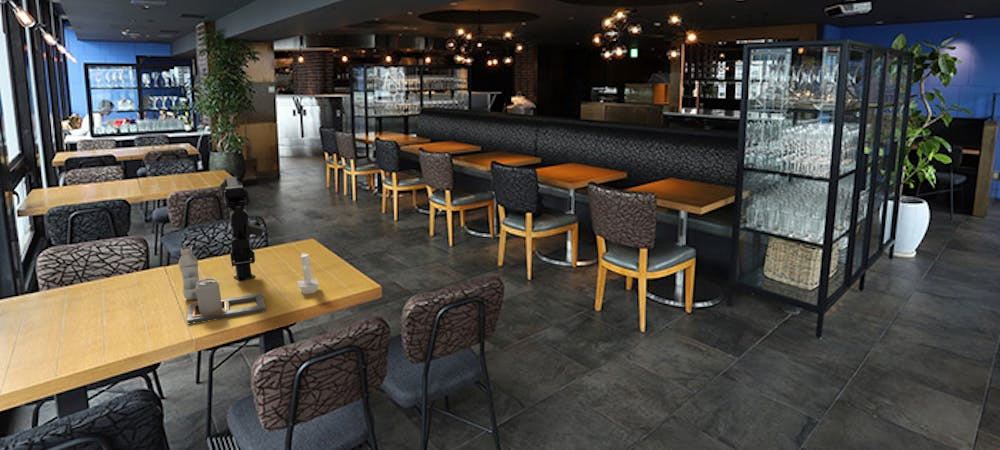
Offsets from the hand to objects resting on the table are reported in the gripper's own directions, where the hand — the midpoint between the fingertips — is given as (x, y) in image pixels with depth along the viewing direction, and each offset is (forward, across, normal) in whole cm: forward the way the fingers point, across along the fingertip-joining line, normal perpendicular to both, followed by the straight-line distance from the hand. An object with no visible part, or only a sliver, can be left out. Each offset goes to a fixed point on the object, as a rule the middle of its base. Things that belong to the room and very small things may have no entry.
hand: (243, 258), depth 231 cm
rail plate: (+13, -19, +7) cm, 24 cm away
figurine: (+13, -12, -22) cm, 28 cm away
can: (+13, -19, +12) cm, 26 cm away
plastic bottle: (+13, -2, +19) cm, 23 cm away
